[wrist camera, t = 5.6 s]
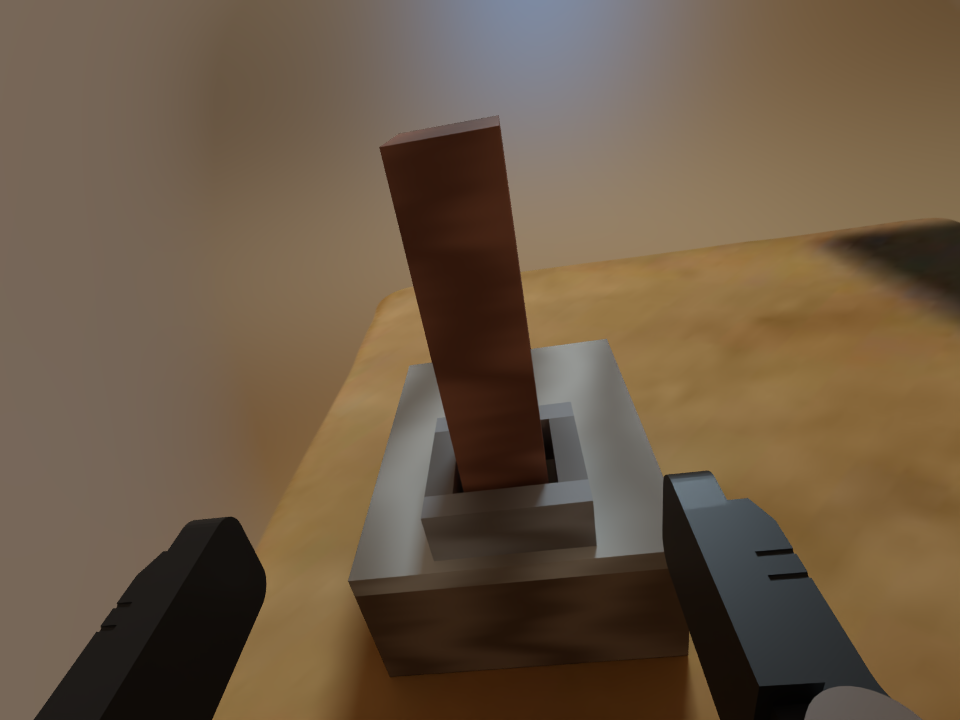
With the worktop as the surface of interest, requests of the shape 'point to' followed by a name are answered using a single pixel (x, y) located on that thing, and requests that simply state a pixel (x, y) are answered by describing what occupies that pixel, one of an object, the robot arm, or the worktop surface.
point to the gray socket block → (521, 536)
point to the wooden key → (470, 296)
